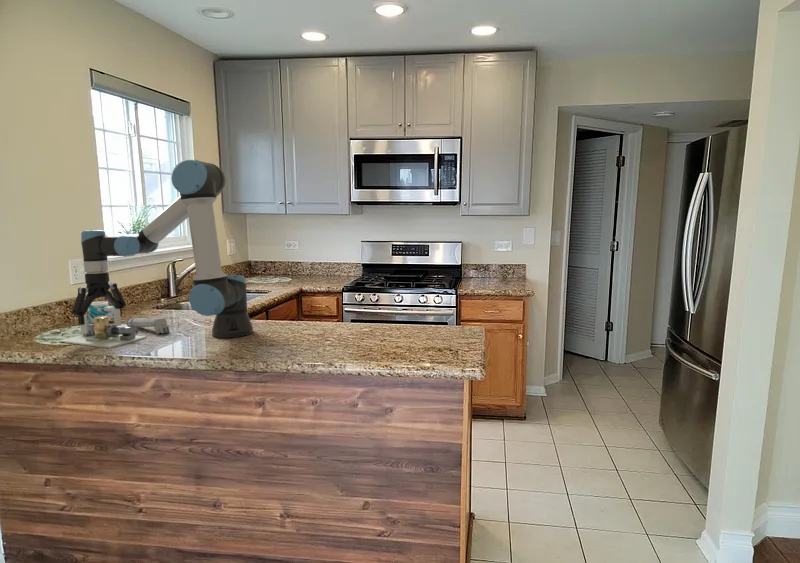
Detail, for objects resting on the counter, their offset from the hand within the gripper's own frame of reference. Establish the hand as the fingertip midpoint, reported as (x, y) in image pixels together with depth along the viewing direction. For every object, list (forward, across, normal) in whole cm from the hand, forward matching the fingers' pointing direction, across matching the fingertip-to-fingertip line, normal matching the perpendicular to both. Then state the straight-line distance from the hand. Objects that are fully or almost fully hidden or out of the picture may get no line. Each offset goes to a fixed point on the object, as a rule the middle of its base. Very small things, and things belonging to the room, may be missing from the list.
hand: (102, 329), depth 183 cm
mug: (+4, -25, -32) cm, 41 cm away
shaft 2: (+4, -2, +8) cm, 9 cm away
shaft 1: (+4, -2, -8) cm, 9 cm away
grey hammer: (+5, -18, +2) cm, 19 cm away
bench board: (+4, 0, 0) cm, 4 cm away
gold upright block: (+4, 0, 0) cm, 4 cm away
